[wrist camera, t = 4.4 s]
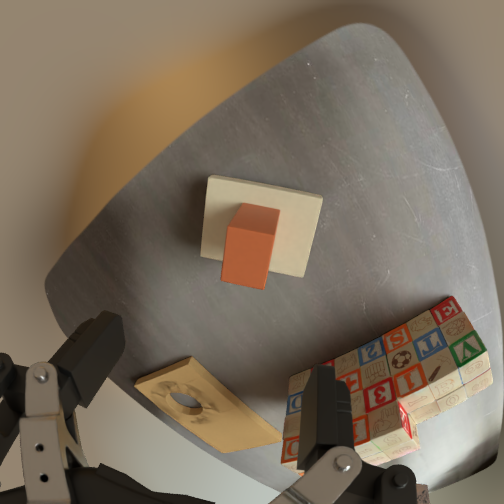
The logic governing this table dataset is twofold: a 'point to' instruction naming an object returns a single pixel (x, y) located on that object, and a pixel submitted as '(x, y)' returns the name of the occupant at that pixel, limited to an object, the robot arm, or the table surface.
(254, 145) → the table surface
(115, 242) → the table surface
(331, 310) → the table surface
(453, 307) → the stack of blocks
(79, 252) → the table surface
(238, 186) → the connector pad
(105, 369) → the robot arm
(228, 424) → the base pad
